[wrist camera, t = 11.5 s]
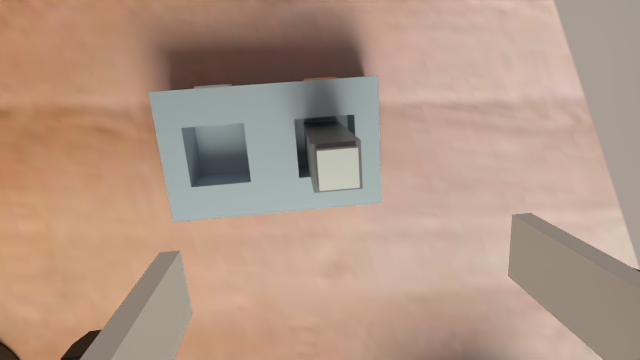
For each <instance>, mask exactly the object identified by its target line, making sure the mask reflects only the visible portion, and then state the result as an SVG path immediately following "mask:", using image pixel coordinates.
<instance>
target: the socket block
mask: <svg viewBox="0 0 640 360" xmlns="http://www.w3.org/2000/svg"><path fill="white" fill-rule="evenodd" d="M148 95H149V100H150V105H151V111H152V116H153V121H154V127H155V132H156V137H157V142H158V148H159V153H160V158H161V164H162V169H163V174H164V179H165V185H166V190H167V195H168V200H169V206H170V211H171V216H172V222H182V221H193V220H204V219H214V218H225V217H236V216H247V215H258V214H269V213H279V212H290V211H301V210H312V209H323V208H334V207H344V206H355V205H366V204H377V203H381V180H380V140H379V101H378V76H365V77H351V78H337V76H334V77H320V78H306V79H303V81H294V82H280V83H266V84H252V85H238V86H232V84H221V85H207V86H194V89H182V90H168V91H155V92H148ZM326 121H338V122H340V123H341V124H342V125H343V126H344V127H346V128H347V129H348V130H349V131H350V132H352V133H353V134H354V135H355V136H356V137H358V138H359V139H360V140H361V157H362V183H363V189H353V190H342V191H331V192H320V193H314V190H313V186H312V181H311V177H310V172H309V167H308V163H307V158H306V149H305V136H304V124H303V123H313V122H326Z"/></svg>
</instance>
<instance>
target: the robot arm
mask: <svg viewBox="0 0 640 360" xmlns="http://www.w3.org/2000/svg"><path fill="white" fill-rule="evenodd" d="M508 276H509V277H510V278H511V279H512V280H513V281H514V282H516V283H517V284H518V285H519V286H520V287H521V288H522V289H524V290H525V291H526V292H527V293H528V294H529V295H530V296H531V297H533V298H534V299H535V300H536V301H537V302H538V303H539V304H541V305H542V306H543V307H544V308H545V309H546V310H547V311H549V312H550V313H551V314H552V315H553V316H554V317H555V318H557V319H558V320H559V321H560V322H561V323H562V324H563V325H565V326H566V327H567V328H568V329H569V330H570V331H571V332H573V333H574V334H575V335H576V336H577V337H578V338H579V339H580V340H582V341H583V342H584V343H585V344H586V345H587V346H588V347H590V348H591V349H592V350H593V351H594V352H595V353H596V354H598V355H599V356H600V357H601V358H602V359H603V360H640V270H638V269H635V268H632V267H630V266H628V265H626V264H624V263H623V262H621V261H619V260H617V259H615V258H613V257H611V256H610V255H608V254H606V253H604V252H602V251H600V250H598V249H597V248H595V247H593V246H591V245H589V244H587V243H585V242H584V241H582V240H580V239H578V238H576V237H574V236H572V235H571V234H569V233H567V232H565V231H563V230H561V229H559V228H557V227H556V226H554V225H552V224H550V223H548V222H546V221H544V220H543V219H541V218H539V217H537V216H535V215H533V214H531V213H525V214H516V215H512V226H511V241H510V256H509V270H508ZM191 316H192V308H191V303H190V298H189V293H188V288H187V283H186V278H185V273H184V268H183V262H182V257H181V252H180V251H171V252H161V253H159V254H158V255H157V257H156V258H155V259H154V261H153V262H152V263H151V265H150V266H149V267H148V269H147V270H146V271H145V273H144V274H143V276H142V277H141V278H140V280H139V281H138V282H137V284H136V285H135V286H134V288H133V289H132V290H131V292H130V293H129V294H128V296H127V297H126V298H125V300H124V301H123V302H122V304H121V305H120V306H119V308H118V309H117V310H116V312H115V313H114V314H113V316H112V317H111V318H110V320H109V321H108V322H107V324H106V325H105V326H104V328H103V329H102V330H96V331H89V332H88V333H87V334H86V335H84V336H83V337H82V338H80V339H79V340H78V341H76V342H75V343H74V344H72V346H71V347H70V348H69V349H68V350H67V352H66V353H65V354H64V355H63V357H62V358H61V360H174V357H175V355H176V352H177V350H178V347H179V345H180V343H181V340H182V338H183V335H184V333H185V330H186V328H187V325H188V323H189V321H190V318H191ZM0 360H18V359H17V358H16V357H15V356H14V355H13V354H12V353H11V352H10V351H9V350H8V349H6V348H5V347H4V346H2V345H1V344H0Z"/></svg>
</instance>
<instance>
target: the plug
mask: <svg viewBox="0 0 640 360" xmlns="http://www.w3.org/2000/svg"><path fill="white" fill-rule="evenodd" d="M303 124H304V136H305V149H306V158H307V163H308V167H309V172H310V177H311V181H312V186H313V190H314V193H320V192H331V191H342V190H353V189H363V183H362V157H361V140H360V139H359V138H358V137H356V136H355V135H354V134H353V133H352V132H350V131H349V130H348V129H347V128H346V127H344V126H343V125H342V124H341V123H340V122H338V121H326V122H313V123H303Z"/></svg>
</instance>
